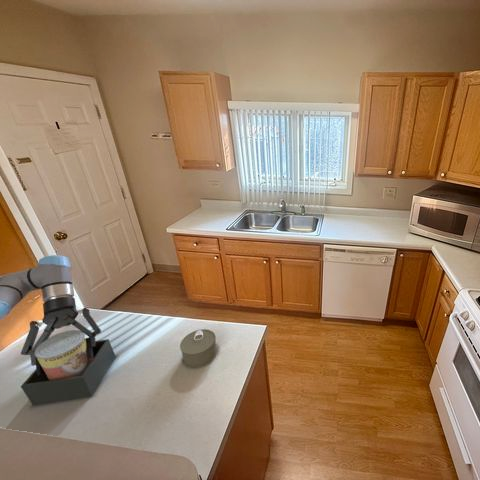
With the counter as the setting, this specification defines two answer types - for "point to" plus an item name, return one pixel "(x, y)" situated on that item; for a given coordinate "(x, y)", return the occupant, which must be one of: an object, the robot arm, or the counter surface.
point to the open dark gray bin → (71, 379)
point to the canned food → (64, 355)
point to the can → (199, 348)
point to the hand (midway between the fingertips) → (66, 366)
